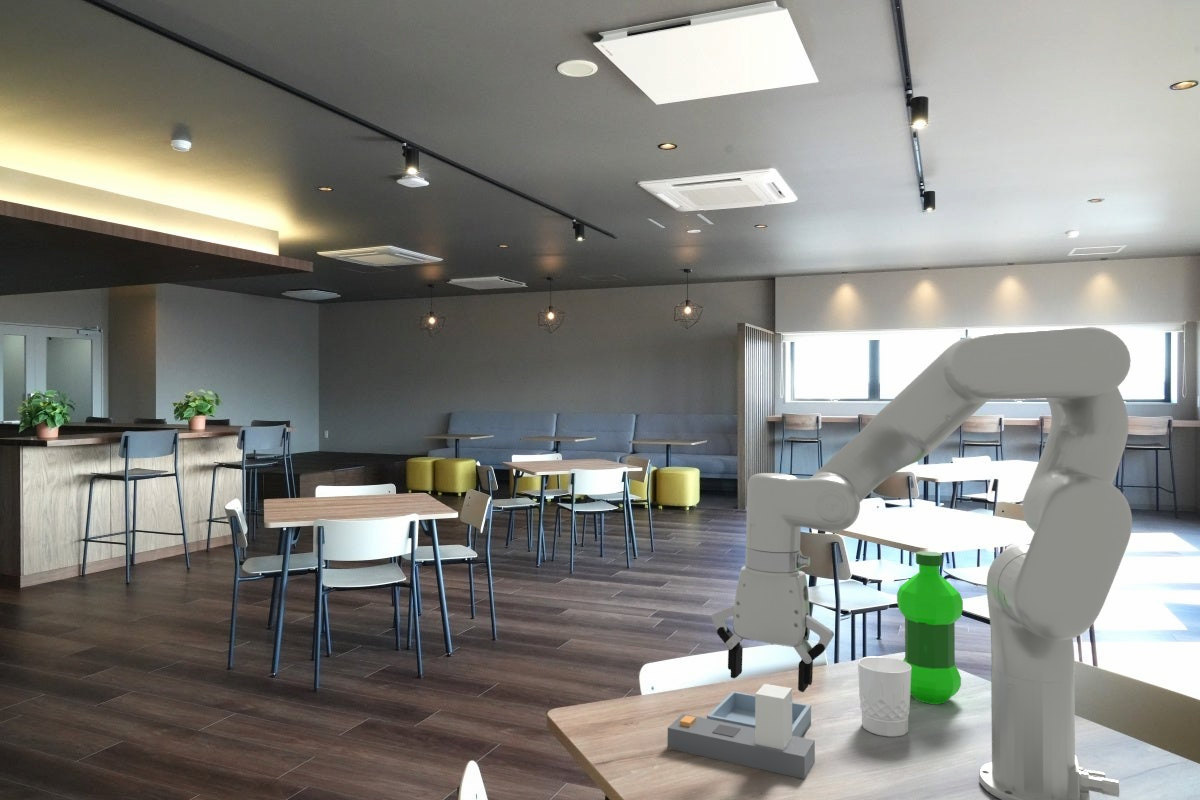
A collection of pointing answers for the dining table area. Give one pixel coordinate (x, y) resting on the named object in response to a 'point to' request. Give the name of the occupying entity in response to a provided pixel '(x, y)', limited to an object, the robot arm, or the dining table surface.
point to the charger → (773, 716)
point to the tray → (742, 712)
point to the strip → (739, 746)
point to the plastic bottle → (930, 630)
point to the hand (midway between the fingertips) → (769, 682)
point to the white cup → (884, 695)
